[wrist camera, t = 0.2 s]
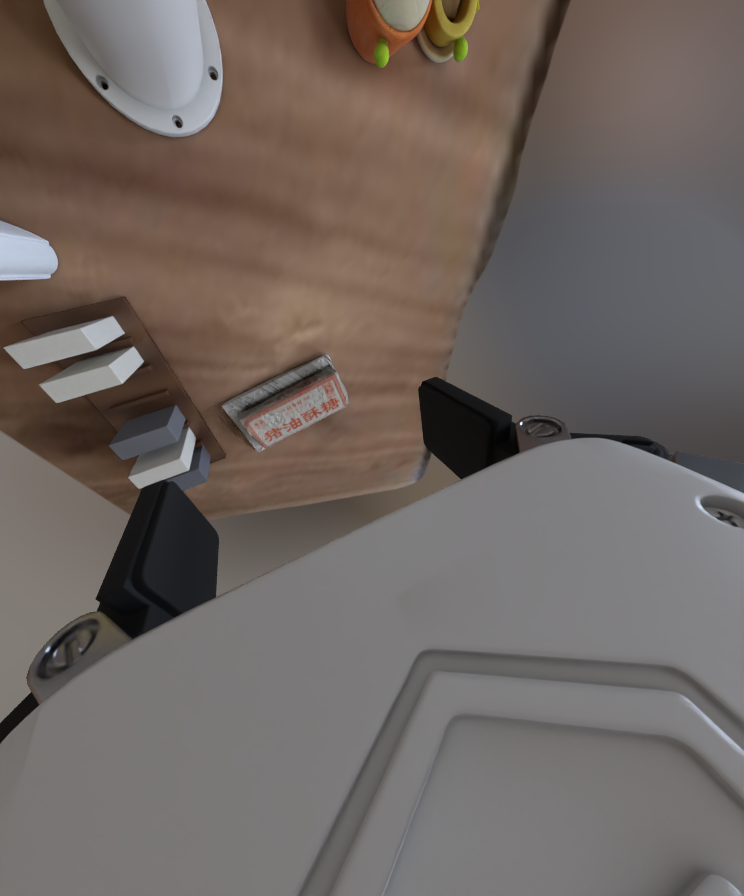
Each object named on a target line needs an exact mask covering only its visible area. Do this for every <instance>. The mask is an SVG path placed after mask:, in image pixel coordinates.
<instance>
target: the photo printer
mask: <svg viewBox="0 0 744 896" xmlns="http://www.w3.org/2000/svg"><path fill="white" fill-rule="evenodd" d="M57 267H58V260H57V256H56V254H55V252H54V250H53V249H52V247H51V246H49V242H48V241H47V240H45V239H43V238H41V237H39V236H37V235H35V234H33V233H31V232H28V231H26V230H24V229H21V228H19V227H16V226H13V225H11V224H8V223H6V222H3V221H0V280H31V279H48V278H51V276H50V275H51V274H52V273H54V272H55V271H56V269H57Z"/></svg>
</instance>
